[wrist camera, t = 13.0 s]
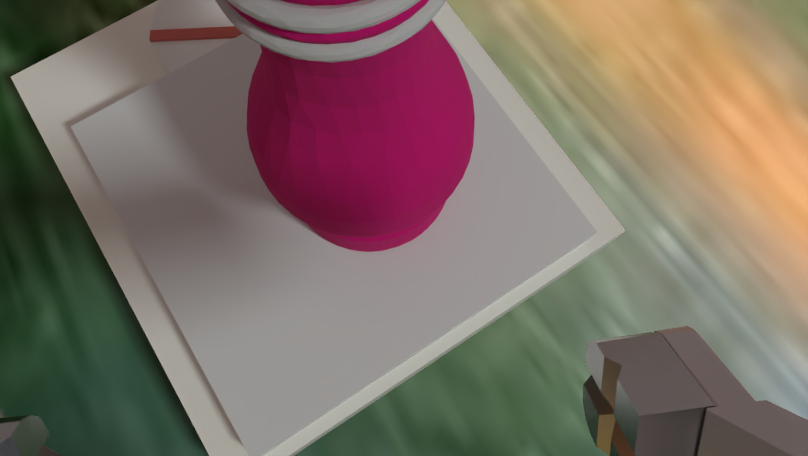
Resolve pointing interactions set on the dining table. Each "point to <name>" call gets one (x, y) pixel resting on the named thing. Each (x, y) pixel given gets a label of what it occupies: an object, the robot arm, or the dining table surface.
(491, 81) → the kitchen scale
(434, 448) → the dining table surface
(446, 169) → the pepper mill
